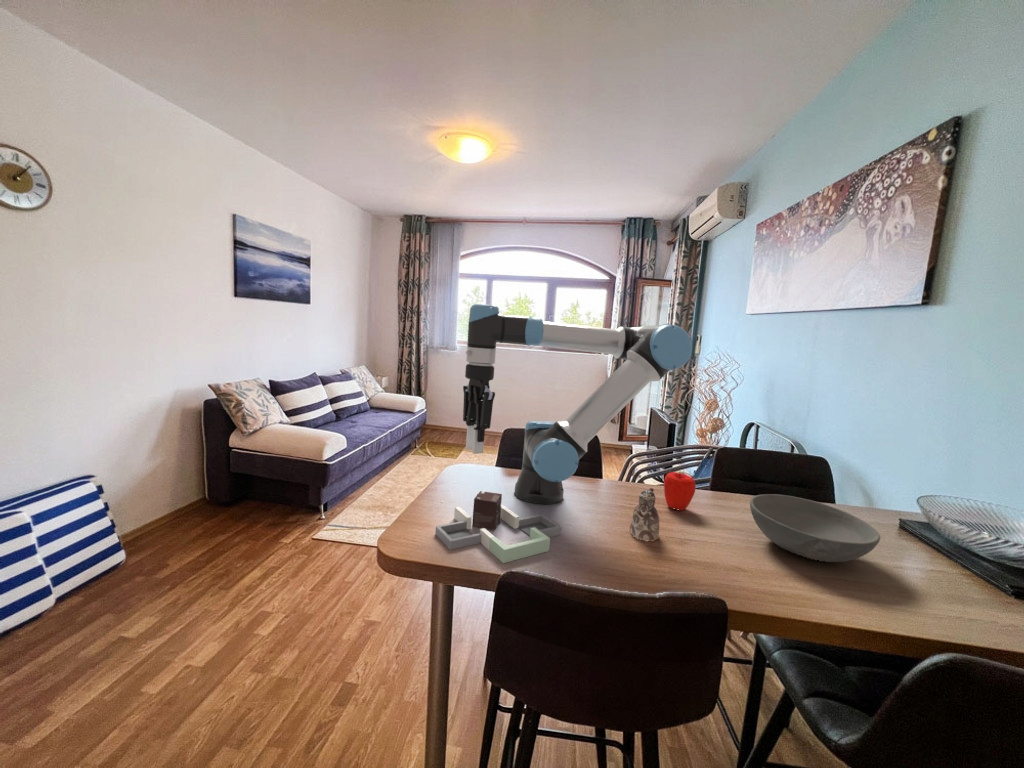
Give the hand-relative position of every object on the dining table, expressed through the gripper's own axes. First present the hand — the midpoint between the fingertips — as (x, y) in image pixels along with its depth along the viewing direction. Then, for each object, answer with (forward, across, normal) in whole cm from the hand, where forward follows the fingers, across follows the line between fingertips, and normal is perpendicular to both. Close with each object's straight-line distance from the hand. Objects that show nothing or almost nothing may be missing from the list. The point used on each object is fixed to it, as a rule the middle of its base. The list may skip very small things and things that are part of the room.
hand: (474, 450), depth 112 cm
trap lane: (+17, +15, 0) cm, 22 cm away
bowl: (+17, +55, +66) cm, 88 cm away
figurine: (+17, +31, +34) cm, 49 cm away
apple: (+17, +23, +59) cm, 66 cm away
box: (+17, +9, 0) cm, 19 cm away
